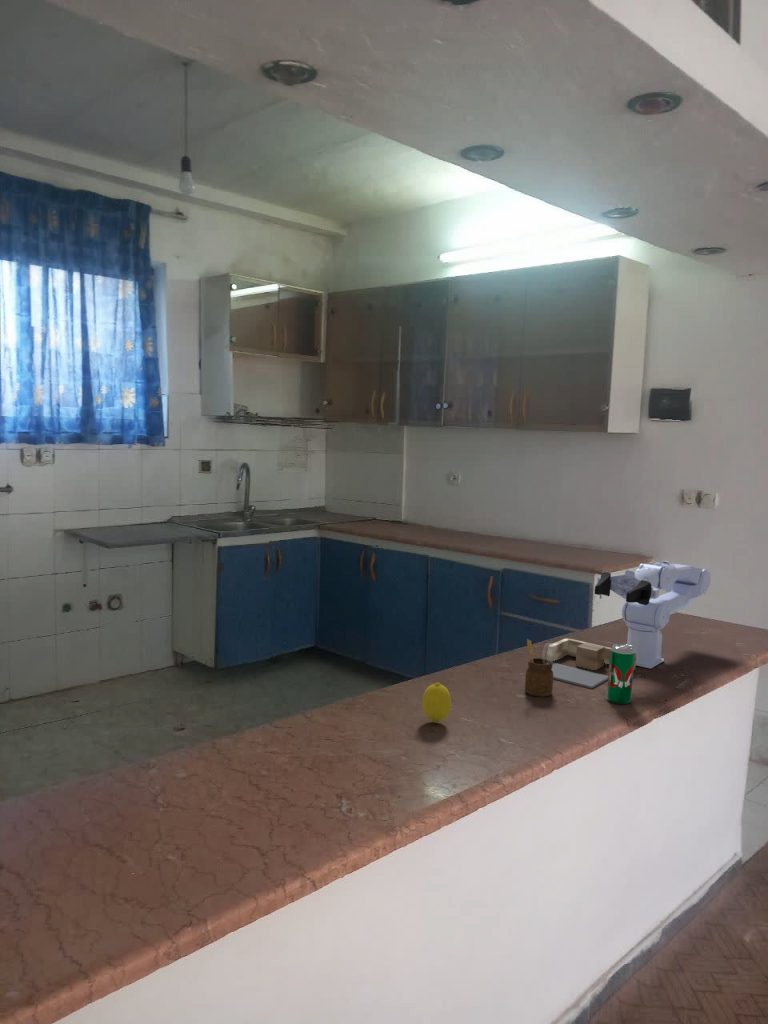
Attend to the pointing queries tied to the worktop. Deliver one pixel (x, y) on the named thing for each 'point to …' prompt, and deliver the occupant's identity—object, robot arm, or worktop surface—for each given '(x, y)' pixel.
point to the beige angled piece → (572, 650)
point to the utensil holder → (539, 675)
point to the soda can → (620, 673)
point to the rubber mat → (577, 676)
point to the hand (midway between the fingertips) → (611, 593)
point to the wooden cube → (590, 656)
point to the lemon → (436, 702)
